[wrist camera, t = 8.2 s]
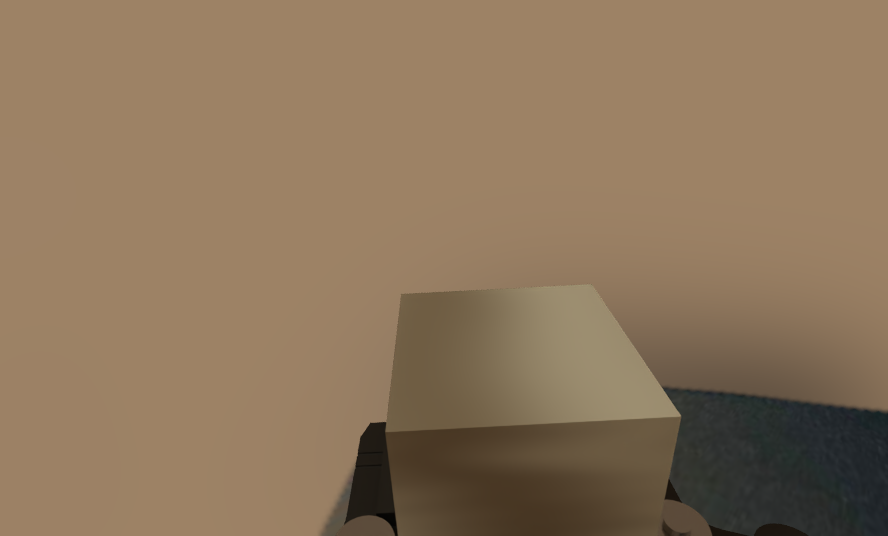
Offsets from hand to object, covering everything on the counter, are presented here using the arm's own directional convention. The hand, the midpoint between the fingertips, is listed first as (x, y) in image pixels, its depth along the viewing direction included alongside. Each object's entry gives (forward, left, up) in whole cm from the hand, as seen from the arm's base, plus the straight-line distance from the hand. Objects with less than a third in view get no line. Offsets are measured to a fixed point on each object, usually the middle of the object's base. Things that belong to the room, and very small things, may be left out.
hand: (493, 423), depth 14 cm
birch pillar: (0, +3, -7) cm, 7 cm away
